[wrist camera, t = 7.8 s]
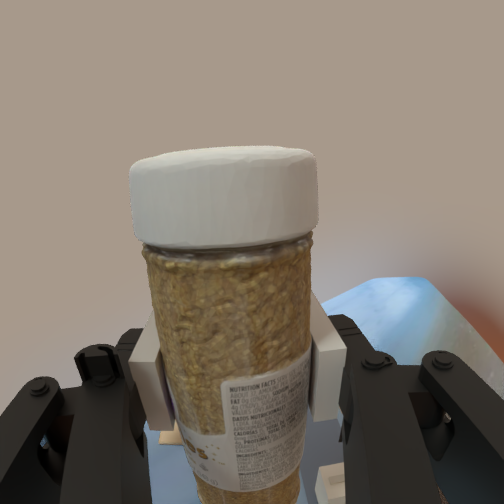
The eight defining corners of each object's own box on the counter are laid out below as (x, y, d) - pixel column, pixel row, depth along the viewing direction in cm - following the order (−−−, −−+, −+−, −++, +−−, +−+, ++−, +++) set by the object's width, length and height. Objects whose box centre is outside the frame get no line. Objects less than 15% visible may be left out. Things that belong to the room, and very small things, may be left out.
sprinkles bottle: (185, 471, 12) (122, 162, 9) (271, 442, 14) (261, 152, 10) (222, 545, 8) (136, 148, 5) (322, 502, 10) (357, 144, 6)
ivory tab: (322, 519, 16) (328, 498, 15) (314, 489, 19) (319, 465, 18) (364, 509, 16) (375, 486, 15) (354, 481, 19) (362, 456, 18)
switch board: (278, 559, 14) (278, 550, 13) (255, 386, 35) (254, 369, 34) (408, 528, 14) (418, 515, 14) (337, 376, 36) (339, 360, 35)
